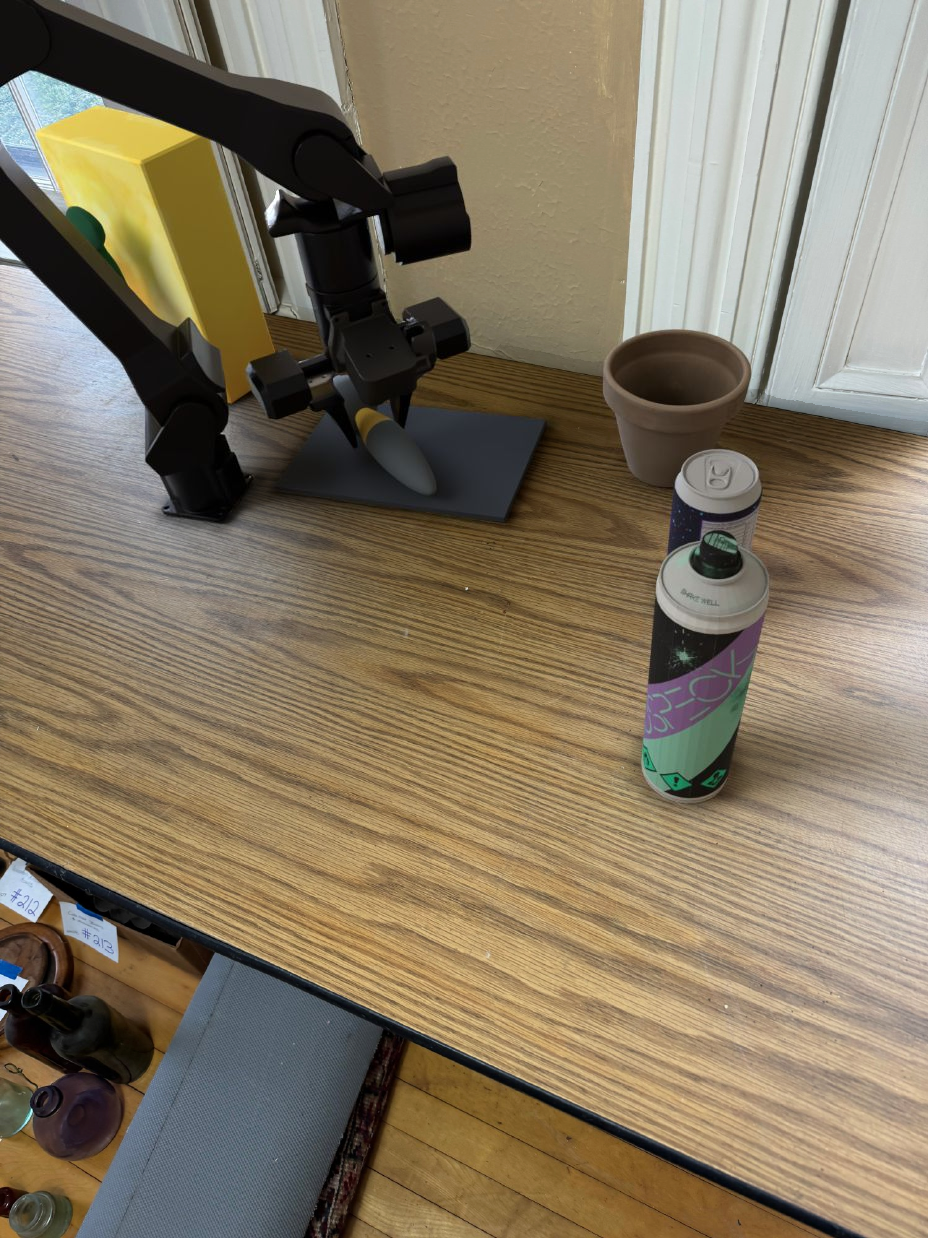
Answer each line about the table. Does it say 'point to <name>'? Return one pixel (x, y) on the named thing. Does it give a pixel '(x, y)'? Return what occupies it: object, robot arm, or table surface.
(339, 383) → the paintbrush
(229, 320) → the mottled yellow carton
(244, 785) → the table surface
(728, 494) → the beverage can
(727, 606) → the spray can
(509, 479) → the mat
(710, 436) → the flower pot
